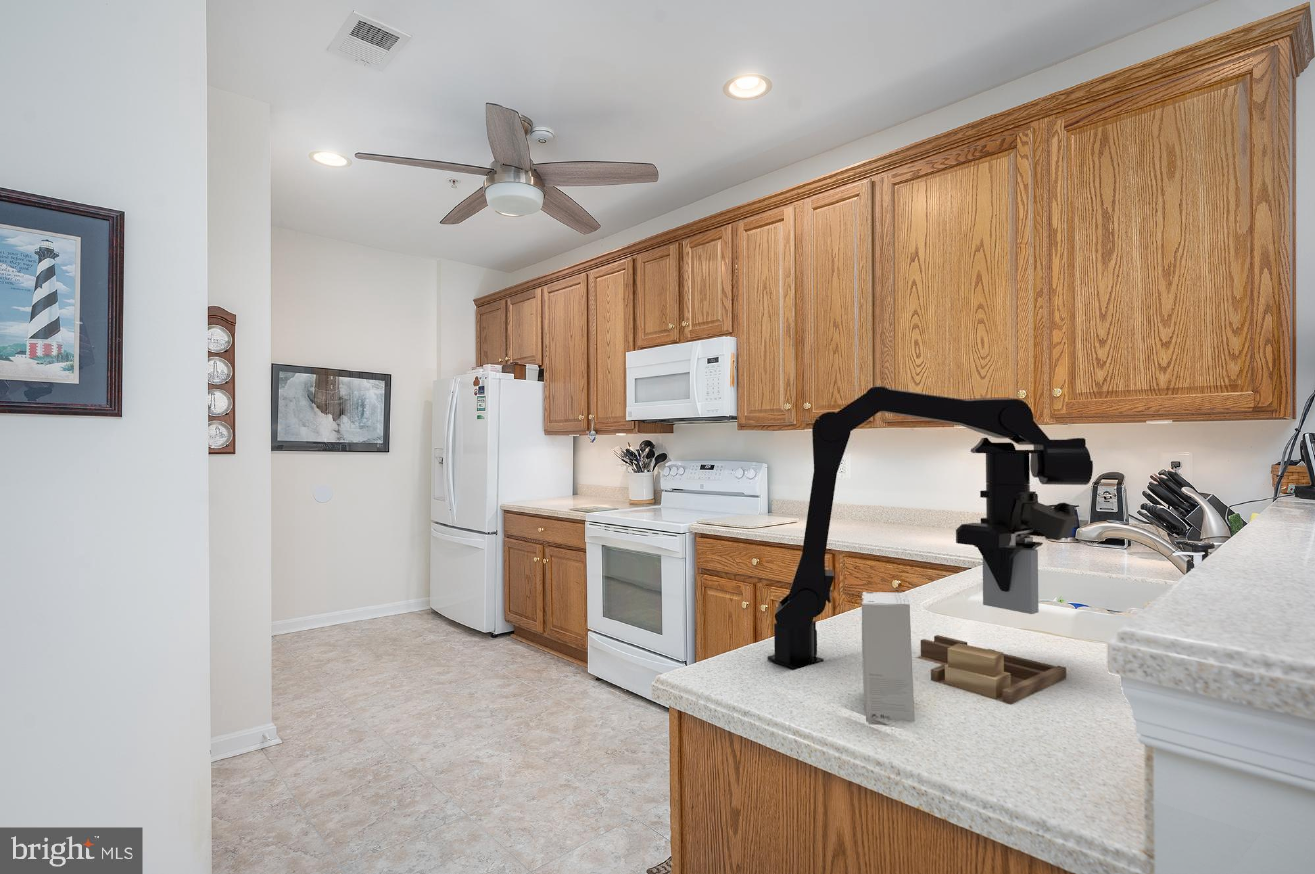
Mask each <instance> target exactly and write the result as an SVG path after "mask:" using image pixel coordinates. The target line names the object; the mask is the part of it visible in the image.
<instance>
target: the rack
mask: <svg viewBox="0 0 1315 874" xmlns="http://www.w3.org/2000/svg"><path fill="white" fill-rule="evenodd" d="M988 649H989V650H994V651H996V650H995V649H991V648H988ZM1003 654H1004V672H1007V673H1010V674H1011V686H1010V687H1008V688H1006V689H1003V690H1002V691H1003V696H1001V697H999V698H997V699H994V698H991V697H988V696H984V695H981V694H978V693H975V692H971V691H968V690H965V689H961V688H958V687H955V686H951V685H948V684H945V665H948V663H947V664H944V665H941V664H940V665H938V666H936V667H933V668H931V669H930V681H933V682H935V683H939V684H943V685H946V686H949V687H952V688H955V689H959V690H961V691H965V692H969V693H972V694H975V695H979V696H981V697H984V698H988V699H992V700H995V701H998V702H1001V703H1005V704H1008V705H1012V704H1015V703H1017V702H1019V701H1021V700H1023V699H1026V698H1027V697H1030V696H1032V695H1034V694H1035V693H1038V692H1040V691H1043V690H1045V689H1047V688H1049V687H1051V686H1053V685H1055V684H1057V683H1060V682H1062V681H1064V680H1066V679H1067V667H1066V666H1062V665H1052V664H1048V663H1045V662H1040V661H1036V660H1031V659H1027V658H1024V657H1020V656H1015V655H1011V654H1006V653H1005V652H1003Z"/></svg>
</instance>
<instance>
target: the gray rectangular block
mask: <svg viewBox="0 0 1315 874" xmlns="http://www.w3.org/2000/svg"><path fill="white" fill-rule="evenodd" d="M982 605H983V606H988V607H992V608H997V609H1002V610H1003V609H1004V610H1009V611H1013V612H1019V613H1022V614H1028V615H1034V614H1037V613H1039V550H1038V549H1037V548H1036V549H1030V548H1023V549H1021V550H1020V551H1019V552H1018V553H1017V554H1016V555H1015V556H1014V559H1013V568H1012V577H1011V584H1010V590H1009V591H1008V592H1005V591H1001V590H1000V588H999V586H998V584H997V582H996V580H995V578H994V576H993V574H992V572H991V571H990V569H989V567H988V565H987V563H986V561H985V560H984V558H983V557H982Z"/></svg>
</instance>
